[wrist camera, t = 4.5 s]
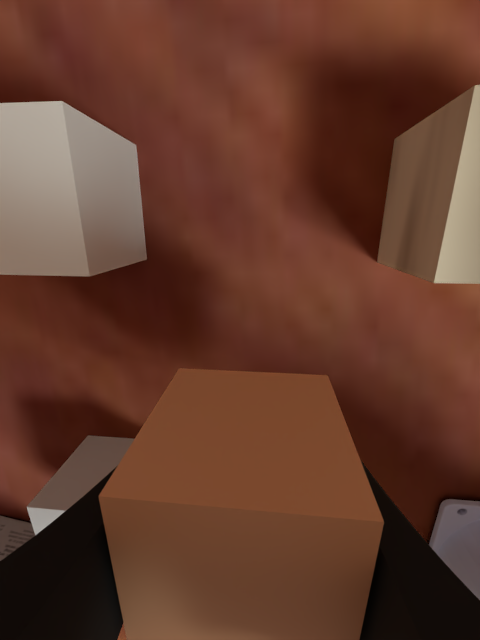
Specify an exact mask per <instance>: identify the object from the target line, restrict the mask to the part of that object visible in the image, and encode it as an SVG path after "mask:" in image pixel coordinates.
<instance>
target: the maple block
mask: <svg viewBox="0 0 480 640" xmlns="http://www.w3.org/2000/svg"><path fill="white" fill-rule="evenodd" d="M377 263H380V264H383V265H386V266H388V267H391V268H394V269H397V270H399V271H402V272H405V273H408V274H411V275H413V276H416V277H419V278H422V279H424V280H427V281H430V282H433V283H472V284H480V85H475V86H473V87H472V88H470V89H469V90H467V91H466V92H464V93H463V94H461V95H460V96H458V97H457V98H455V99H454V100H452V101H451V102H449V103H448V104H446V105H445V106H443V107H442V108H440V109H439V110H437V111H436V112H434V113H433V114H431V115H430V116H428V117H427V118H425V119H424V120H422V121H421V122H419V123H418V124H416V125H415V126H413V127H412V128H410V129H409V130H407V131H406V132H404V133H403V134H401V135H400V136H398V137H397V138H395V139H394V146H393V153H392V160H391V167H390V174H389V181H388V188H387V195H386V202H385V210H384V217H383V224H382V231H381V238H380V245H379V252H378V259H377Z"/></svg>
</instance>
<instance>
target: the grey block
mask: <svg viewBox="0 0 480 640" xmlns="http://www.w3.org/2000/svg"><path fill="white" fill-rule="evenodd" d="M133 441H134V439H132V438H118V437H103V436H89V435H88V436H87V437H86V438H85V439H84V440H83V442H82V443H81V444H80V445H79V446H78V448H77V449H76V450H75V451H74V452H73V453H72V455H71V456H70V457H69V458H68V459H67V460H66V462H65V463H64V464H63V465H62V466H61V467H60V469H59V470H58V471H57V472H56V473H55V474H54V476H53V477H52V478H51V479H50V480H49V481H48V483H47V484H46V485H45V486H44V487H43V488H42V490H41V491H40V492H39V493H38V494H37V495H36V497H35V498H34V499H33V500H32V501H31V502H30V504H29V505H28V506H27V510H28V513H29V517H30V520H31V523H32V526H33V530H34V533H35V535H36V534H38V533H39V532H40V531H42V530H43V529H44V528H45V527H47V526H48V525H49V524H50V523H52V522H53V521H54V520H55V519H57V518H58V517H59V516H60V515H61V514H63V513H64V512H65V511H66V510H67V509H69V508H70V507H71V506H72V505H73V504H75V503H76V502H77V501H78V500H79V499H81V498H82V497H83V496H84V495H85V494H86V493H88V492H89V491H90V490H91V489H92V488H93V487H94V486H95V485H97V484H98V483H99V482H100V481H101V480H102V479H103V478H104V477H105V476H107V475H108V474H109V473H110V472H111V471H112V470H113V469H114V468H115V467H116V466H117V465H118V464H119V463H120V461H121V460H122V458H123V456H124V455H125V453H126V452H127V450H128V449H129V447H130V445H131V444H132V442H133Z"/></svg>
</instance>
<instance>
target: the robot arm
mask: <svg viewBox="0 0 480 640" xmlns="http://www.w3.org/2000/svg"><path fill="white" fill-rule="evenodd" d="M361 463H362V466H363V468H364V471H365V473H366V476H367V479H368V481H369V484H370V486H371V489H372V492H373V494H374V497H375V499H376V502H377V505H378V507H379V510H380V512H381V515H382V518H383V520H384V525H383V530H382V535H381V539H380V544H379V549H378V554H377V558H376V563H375V568H374V573H373V577H372V582H371V587H370V592H369V597H368V601H367V606H366V611H365V616H364V620H363V625H362V630H361V635H360V639H359V640H480V501H469V500H456V499H447V500H444V501H443V502H442V503H441V505H440V508H439V511H438V515H437V518H436V522H435V525H434V529H433V532H432V536H431V539H430V543H429V545H428V543H427V542H426V541H425V540H424V539H423V538H422V537H421V535H420V534H419V533H418V532H417V531H416V530H415V528H414V527H413V526H412V525H411V523H410V522H409V521H408V520H407V519H406V517H405V516H404V515H403V514H402V513H401V511H400V510H399V509H398V508H397V506H396V505H395V504H394V503H393V502H392V500H391V499H390V498H389V496H388V495H387V494H386V493H385V491H384V490H383V489H382V487H381V486H380V485H379V484H378V482H377V481H376V480H375V478H374V477H373V476H372V474H371V473H370V472H369V470H368V469H367V468H366V466H365V465H364V464H363V462H362V461H361ZM117 466H118V465H117ZM117 466H116V467H115V468H114V469H113V470H112V471H111V472H110V473H109V474H108V475H107V476H105V477H104V478H103V479H102V480H101V481H100V482H99V483H98V484H97V485H95V486H94V487H93V488H92V489H91V490H90V491H89V492H88V493H86V494H85V495H84V496H83V497H82V498H81V499H79V500H78V501H77V502H76V503H75V504H73V505H72V506H71V507H70V508H69V509H67V510H66V511H65V512H64V513H63V514H61V515H60V516H59V517H58V518H57V519H55V520H54V521H53V522H52V523H50V524H49V525H48V526H47V527H45V528H44V529H43V530H42V531H40V532H39V533H38V534H36V535H35V536H34V537H32V538H31V539H30V540H28V541H27V542H26V543H24V544H23V545H22V546H20V547H19V548H18V549H16V550H15V551H13V552H12V553H11V554H9V555H8V556H7V557H5V558H4V559H3V560H1V561H0V640H117V639H118V636H119V633H120V630H121V627H122V625H123V618H122V613H121V608H120V603H119V598H118V592H117V587H116V582H115V577H114V572H113V567H112V562H111V557H110V552H109V547H108V542H107V537H106V532H105V527H104V522H103V517H102V512H101V507H100V502H99V495H100V493H101V491H102V490H103V488H104V487H105V485H106V483H107V482H108V480H109V479H110V477H111V476H112V474H113V472H114V471H115V469H116V468H117Z"/></svg>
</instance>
